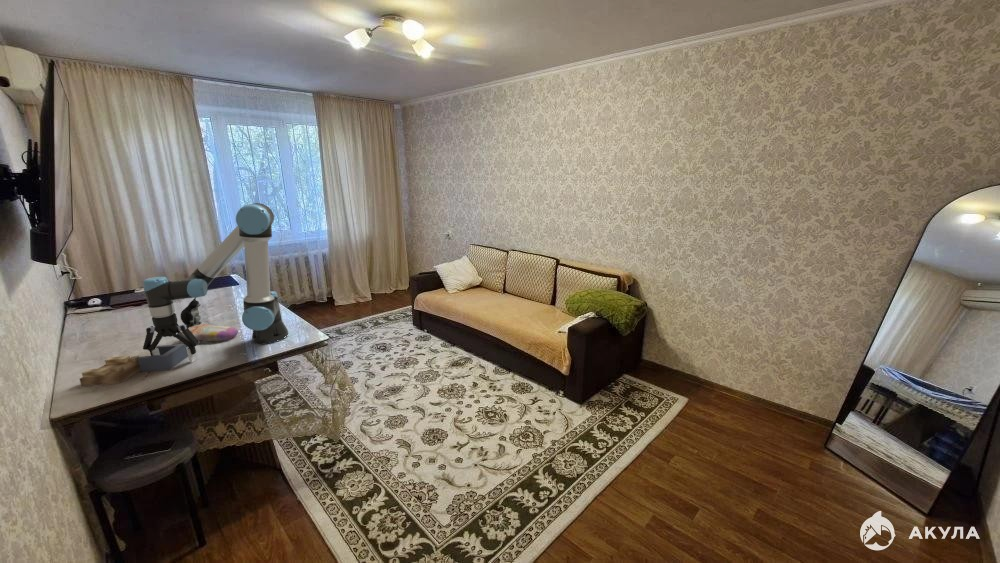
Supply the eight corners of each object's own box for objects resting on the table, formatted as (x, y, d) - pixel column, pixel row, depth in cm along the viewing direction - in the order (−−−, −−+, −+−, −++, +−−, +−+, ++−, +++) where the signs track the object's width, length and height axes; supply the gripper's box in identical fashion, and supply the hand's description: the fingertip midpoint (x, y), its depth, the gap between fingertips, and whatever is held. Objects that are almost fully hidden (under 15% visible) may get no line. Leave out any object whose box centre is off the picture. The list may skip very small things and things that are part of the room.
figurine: (202, 328, 198) (195, 301, 194) (178, 331, 194) (171, 303, 190) (207, 322, 206) (201, 296, 202) (185, 325, 203) (179, 298, 199)
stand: (149, 364, 159) (146, 353, 158) (120, 382, 145) (117, 371, 143) (114, 367, 157) (110, 356, 156) (81, 386, 143) (77, 374, 141)
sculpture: (244, 331, 198) (186, 335, 189) (243, 319, 196) (185, 323, 188) (234, 342, 182) (170, 346, 173) (233, 328, 181) (168, 333, 172)
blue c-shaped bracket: (188, 356, 166) (185, 343, 164) (170, 369, 155) (166, 356, 153) (161, 358, 164) (158, 345, 163) (141, 371, 153) (137, 358, 151)
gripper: (202, 309, 160) (213, 356, 165) (136, 313, 156) (149, 360, 162) (191, 315, 153) (202, 364, 158) (122, 320, 149) (136, 369, 155)
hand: (176, 362), depth 160 cm, fingers open, 12 cm apart
